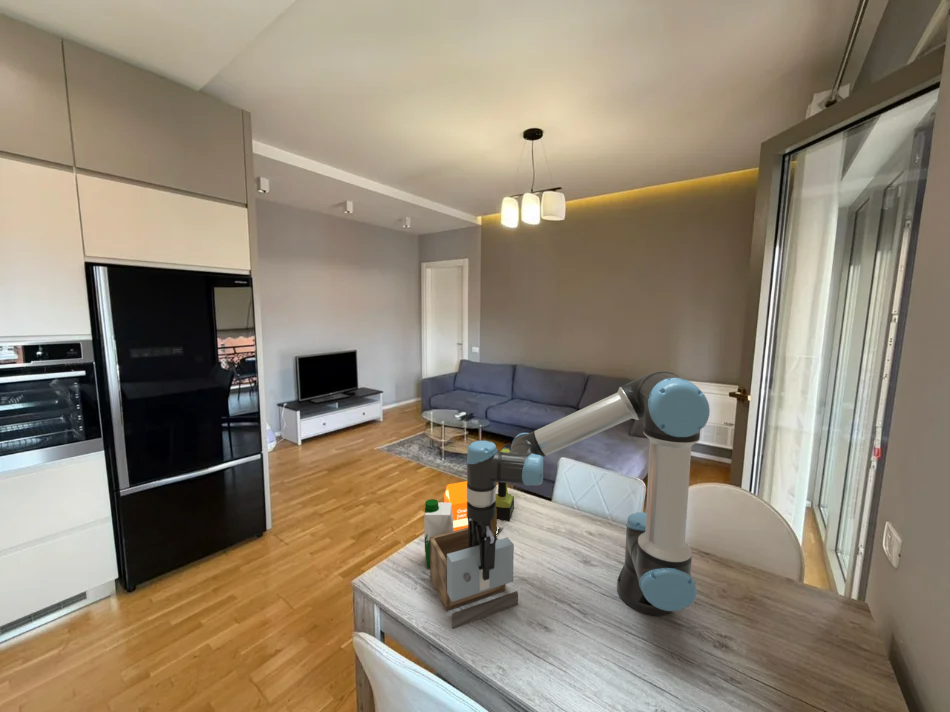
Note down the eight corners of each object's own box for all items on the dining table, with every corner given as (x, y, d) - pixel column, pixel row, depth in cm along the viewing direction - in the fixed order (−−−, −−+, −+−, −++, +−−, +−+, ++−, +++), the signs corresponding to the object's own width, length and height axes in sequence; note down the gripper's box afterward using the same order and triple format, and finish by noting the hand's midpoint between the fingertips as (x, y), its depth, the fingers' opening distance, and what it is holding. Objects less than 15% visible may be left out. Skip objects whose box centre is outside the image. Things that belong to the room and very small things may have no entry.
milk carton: (426, 552, 127) (425, 495, 125) (454, 552, 127) (453, 495, 125) (423, 570, 119) (422, 509, 116) (452, 570, 119) (452, 509, 116)
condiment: (475, 535, 137) (475, 503, 136) (485, 523, 145) (485, 493, 143) (493, 540, 134) (494, 508, 132) (503, 528, 141) (503, 497, 140)
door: (515, 584, 105) (516, 546, 103) (453, 605, 97) (453, 565, 96) (506, 573, 109) (507, 537, 107) (447, 592, 101) (446, 554, 100)
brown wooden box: (519, 604, 105) (520, 560, 104) (453, 628, 97) (452, 581, 96) (487, 560, 123) (487, 522, 122) (428, 578, 115) (427, 537, 114)
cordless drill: (502, 493, 168) (502, 438, 164) (518, 495, 166) (519, 439, 162) (489, 522, 145) (490, 458, 142) (508, 524, 144) (509, 460, 140)
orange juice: (444, 532, 139) (443, 479, 136) (467, 527, 142) (467, 476, 139) (450, 545, 131) (450, 489, 129) (474, 539, 135) (474, 485, 132)
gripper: (509, 513, 95) (508, 600, 97) (480, 484, 109) (480, 561, 112) (482, 520, 91) (481, 609, 94) (456, 489, 106) (456, 568, 109)
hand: (480, 583), depth 103 cm, fingers closed on door, 3 cm apart
